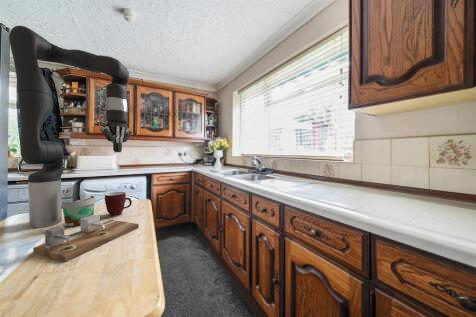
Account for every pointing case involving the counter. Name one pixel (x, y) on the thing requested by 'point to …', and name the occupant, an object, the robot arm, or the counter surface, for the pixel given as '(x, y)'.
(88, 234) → the hole board
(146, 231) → the counter surface
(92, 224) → the leg
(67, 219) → the food container
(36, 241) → the counter surface
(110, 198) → the mug
